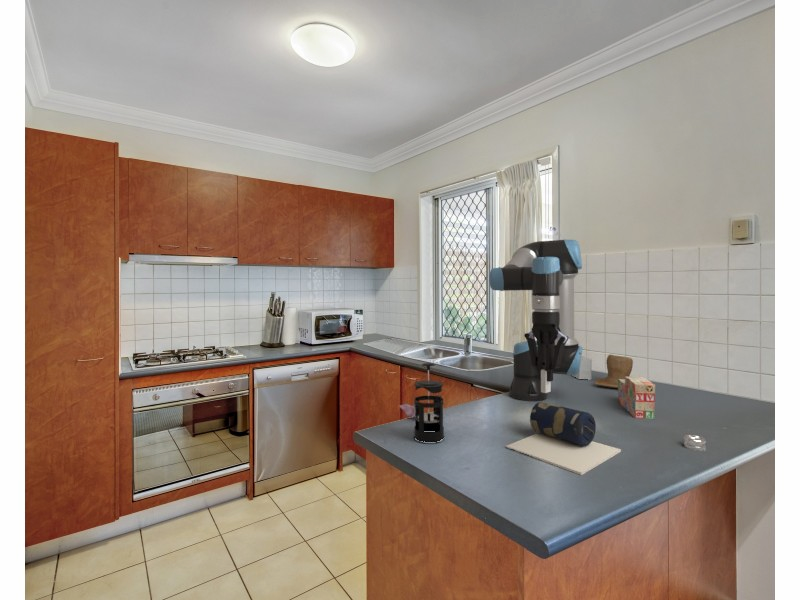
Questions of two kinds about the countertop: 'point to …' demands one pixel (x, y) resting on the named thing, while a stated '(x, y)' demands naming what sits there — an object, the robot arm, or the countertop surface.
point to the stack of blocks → (637, 397)
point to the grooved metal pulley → (694, 442)
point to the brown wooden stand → (616, 371)
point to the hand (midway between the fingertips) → (545, 391)
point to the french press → (428, 419)
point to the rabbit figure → (408, 410)
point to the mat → (565, 452)
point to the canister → (563, 423)
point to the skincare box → (584, 369)
